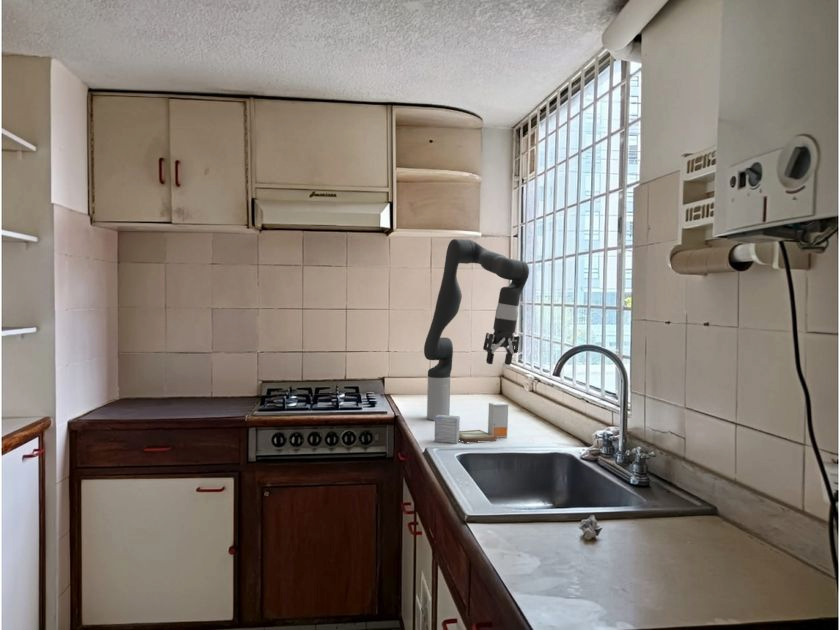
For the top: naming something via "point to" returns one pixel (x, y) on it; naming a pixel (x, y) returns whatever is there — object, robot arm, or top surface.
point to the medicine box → (447, 428)
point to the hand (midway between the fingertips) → (498, 364)
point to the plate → (475, 436)
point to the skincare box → (498, 419)
